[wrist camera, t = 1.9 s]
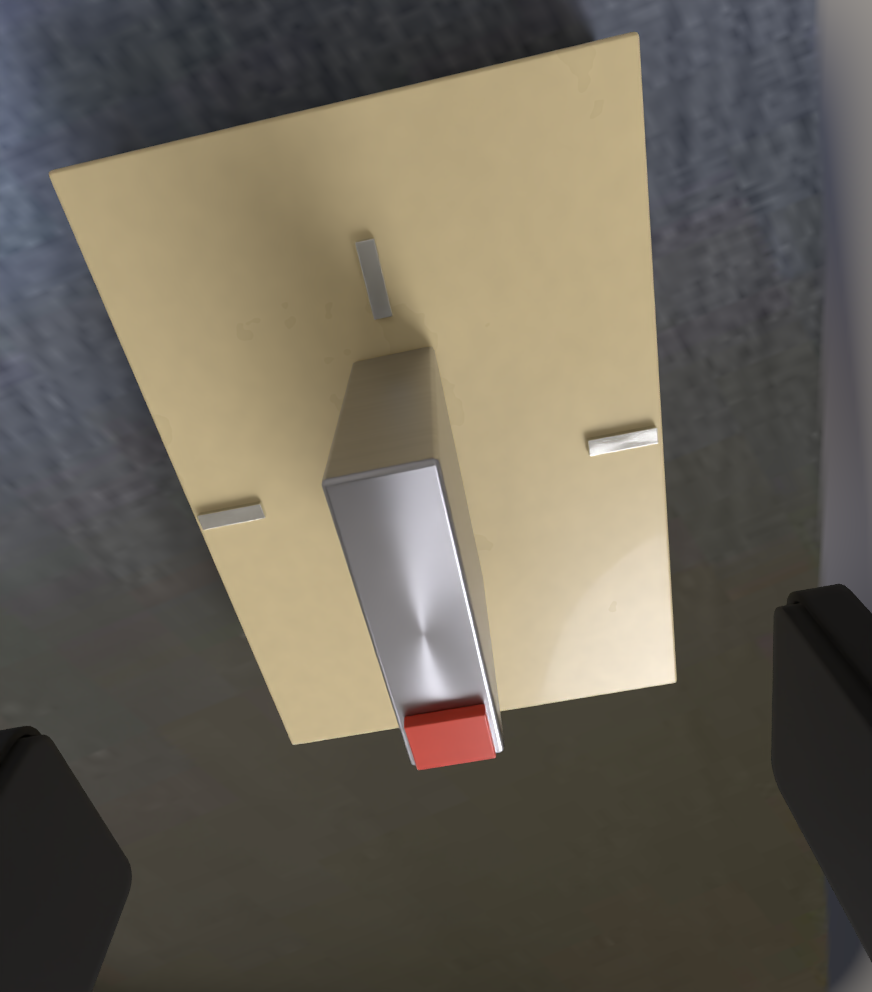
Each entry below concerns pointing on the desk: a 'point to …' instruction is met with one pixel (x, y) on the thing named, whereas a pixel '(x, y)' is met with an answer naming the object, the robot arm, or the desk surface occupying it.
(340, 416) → the metal bar
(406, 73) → the desk surface
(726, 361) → the desk surface
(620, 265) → the beige lever base
